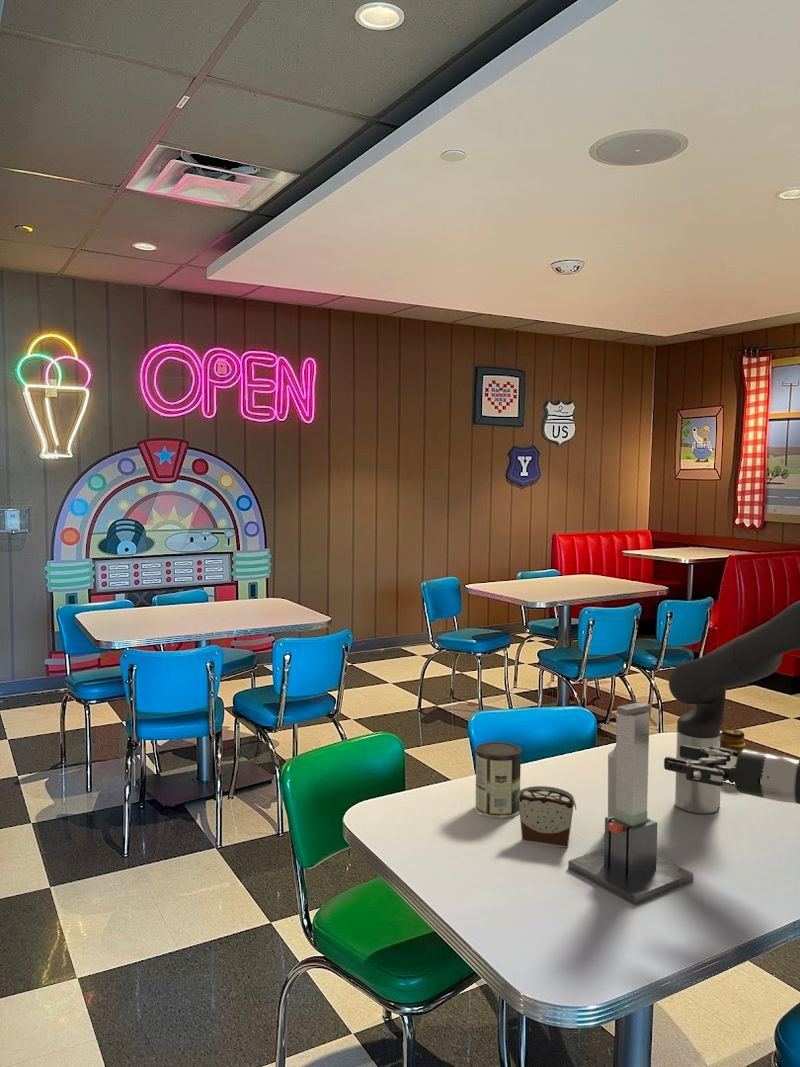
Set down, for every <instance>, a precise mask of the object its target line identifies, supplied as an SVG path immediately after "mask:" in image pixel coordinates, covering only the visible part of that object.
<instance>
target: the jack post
mask: <svg viewBox="0 0 800 1067" xmlns="http://www.w3.org/2000/svg"><path fill="white" fill-rule="evenodd" d="M650 712H651V704H649V703H645V702H642V701H640V702H634V703H629V704H628V703H627V704H625V705H619V706H617V707H616V714H617V715H618V730H617V729H616V733H617V774H616V808H615V819H616V820H618V821H620V822H622V823H624V824H627V825H629V826H630V828H631V827H634V826H638V825H641V824H644V823H647V818H648V794H649V793H648V784H649V754H650V753H649V751H650V749H649V746H650V742H649V741H650Z"/></svg>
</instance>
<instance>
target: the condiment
mask: <svg viewBox="0 0 800 1067" xmlns="http://www.w3.org/2000/svg"><path fill="white" fill-rule="evenodd" d="M720 747H722V748H726V749H731V750H736V751H741V750H742V749H744V748H745V749H747V748H746V743H745V733H744V731H742V730H740V729H736V728H725V729H724V728H723V729H722V731H721V736H720Z"/></svg>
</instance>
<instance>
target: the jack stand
mask: <svg viewBox="0 0 800 1067" xmlns="http://www.w3.org/2000/svg"><path fill="white" fill-rule="evenodd" d="M603 846H604V847H603V848H602V849H598V850H596V851H593V852H590V853H586V854H584V855H581V856H579V857H575V858H572V859H569V860H568V866H567V867H568V870H571V871H572V872H574V873H576V874H578V875H579V876H581V877H583V878H585V879H587V880H589V881H590V882H592V883H594V884H596V885H598V886H600V887H602V888H604V889H605V890H606V891H609V892H611V893H613V895H614V894H615V895H616V896H618V897H620V898H622V899H623V900H625V901H627V902H629V903H630V904H633V905H634V906H636V905H638V904H641V903H643V902H645V901H649V900H650V899H653V898H655V897H657V896H660V894H661V895H663V894H665V893H667V892H670V891H672V889H673V890H675V889H678V888H680V887H682V886H684V884H685V885H687V884H689V882H690V883H692V882H694V872H692V871H689V870H688V869H685V868H684V867H681V866H679V865H677V864H675V863H673V862H671V861H668V860H666V859H664V858H662V857H661V856H658V852H657V850H658V821H655V820H651V819H650V818H648V817H647V823H644V824H641V825H638V826H634V827H631V828H630V826H629V825H627V824H624V823H622V822H620V821H618V820H616V819H615V815H612V816H608V815H607V816H606V817H604V845H603ZM691 881H692V882H691ZM686 883H687V884H686ZM681 885H682V886H681ZM679 886H680V887H679ZM669 890H670V891H669Z"/></svg>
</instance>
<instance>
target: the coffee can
mask: <svg viewBox="0 0 800 1067" xmlns="http://www.w3.org/2000/svg"><path fill="white" fill-rule="evenodd" d="M521 754H522V748H521V747H520V746H519V745H517V744H514V743H510V742H505V741H488V742H482V743H479V744H477V745H476V746H475V806H476V809H475V811H476V810H477V811H478V812H479V813H481V814H483V815H482V816H484V815H485V816H484V817H487V816H489V817H488V818H490V817H493V818H492V819H509V818H513V817H516V816H518V815H520V812H519V800H518V801H517V802H516V797H517V795H518V792H519V791H520V790H521V768H522V767H521V766H522V764H521V762H522V761H521V760H522V759H521V757H522V755H521ZM477 811H476V812H477ZM478 812H477V813H478ZM479 813H478V814H479ZM481 814H480V815H481Z"/></svg>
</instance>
